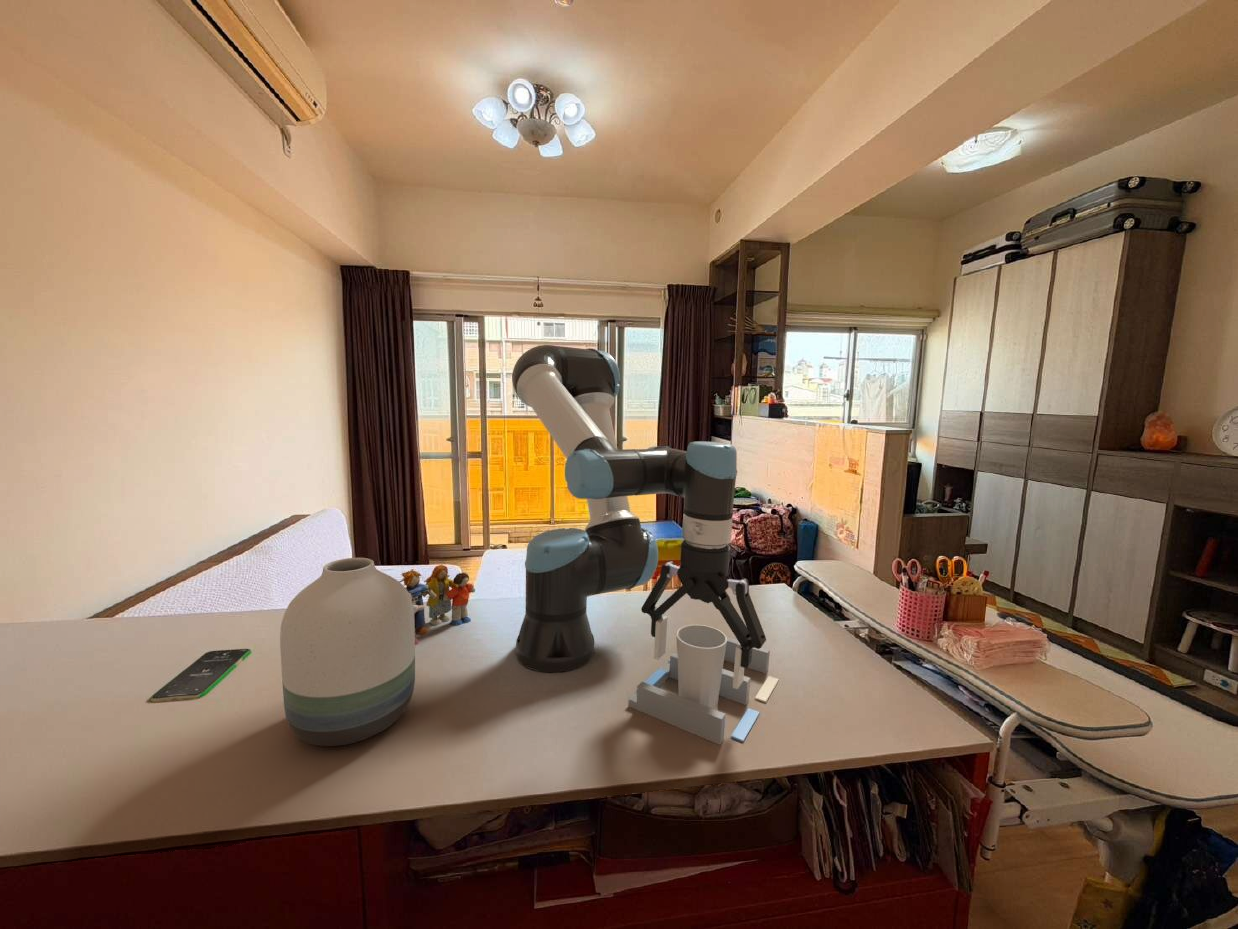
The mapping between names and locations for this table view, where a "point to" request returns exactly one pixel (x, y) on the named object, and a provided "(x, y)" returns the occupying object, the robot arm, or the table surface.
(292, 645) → the vase
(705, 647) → the cup
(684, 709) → the parallel grey wall panels
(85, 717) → the table surface
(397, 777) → the table surface
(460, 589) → the doll family
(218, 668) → the smartphone
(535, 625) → the robot arm
